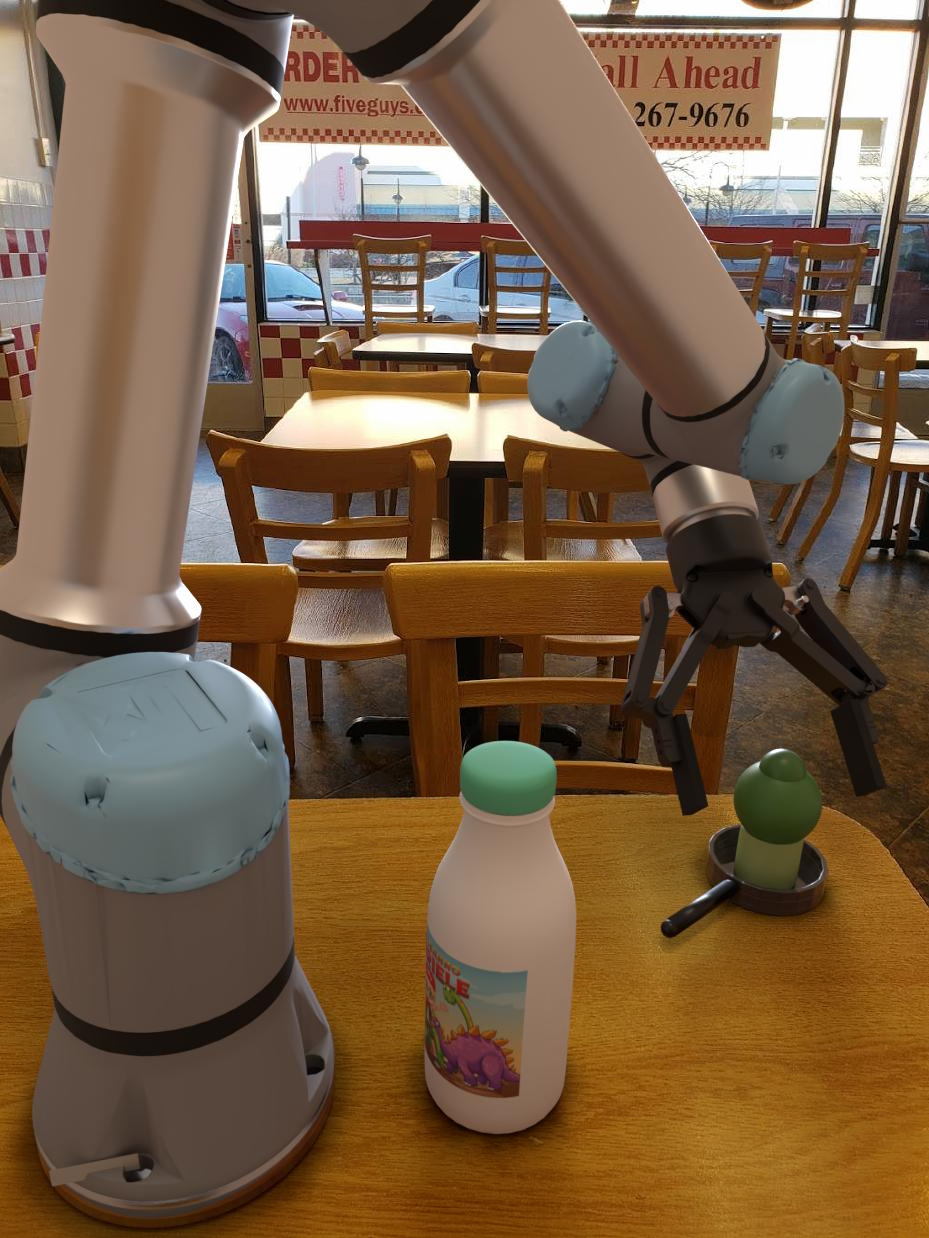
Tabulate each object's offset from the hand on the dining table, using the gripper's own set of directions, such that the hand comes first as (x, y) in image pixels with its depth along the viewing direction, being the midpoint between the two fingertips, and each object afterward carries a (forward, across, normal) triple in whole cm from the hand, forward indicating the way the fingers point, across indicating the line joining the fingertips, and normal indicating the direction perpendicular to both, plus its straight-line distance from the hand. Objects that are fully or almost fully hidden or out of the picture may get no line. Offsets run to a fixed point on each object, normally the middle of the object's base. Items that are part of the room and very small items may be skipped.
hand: (785, 802), depth 65 cm
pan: (+4, 0, -6) cm, 7 cm away
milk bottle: (+14, +24, +3) cm, 28 cm away
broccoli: (+4, 0, -6) cm, 7 cm away
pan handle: (+7, +7, -3) cm, 10 cm away
